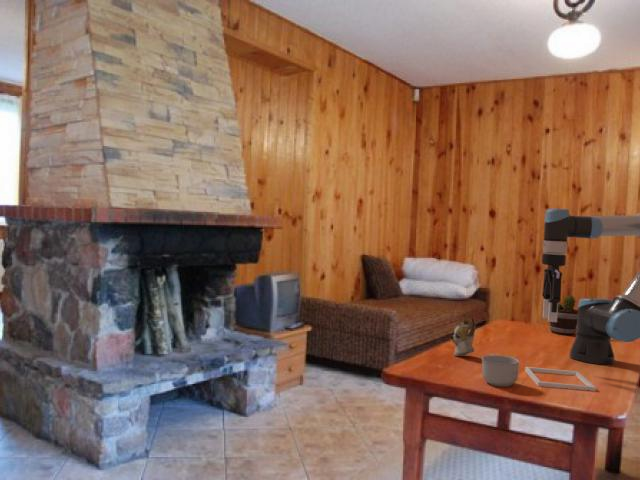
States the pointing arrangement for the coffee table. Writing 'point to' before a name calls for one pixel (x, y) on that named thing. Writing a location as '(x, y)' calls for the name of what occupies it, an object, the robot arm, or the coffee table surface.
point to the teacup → (500, 370)
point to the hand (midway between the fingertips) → (549, 319)
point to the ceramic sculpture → (464, 337)
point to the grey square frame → (559, 385)
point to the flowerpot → (565, 318)
